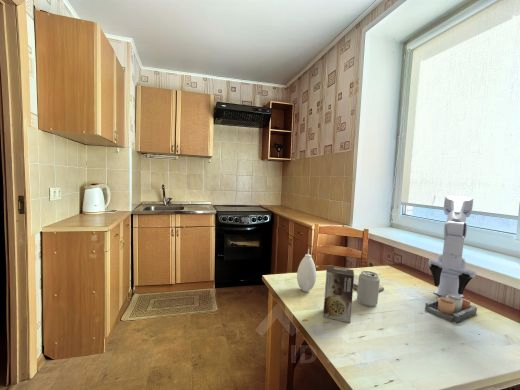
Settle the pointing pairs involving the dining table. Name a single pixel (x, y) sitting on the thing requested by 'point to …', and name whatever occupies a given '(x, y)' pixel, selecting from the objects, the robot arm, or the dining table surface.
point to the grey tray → (455, 318)
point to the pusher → (464, 303)
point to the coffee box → (338, 293)
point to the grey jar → (456, 302)
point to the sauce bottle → (306, 273)
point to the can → (368, 288)
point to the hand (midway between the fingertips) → (448, 289)
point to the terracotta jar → (446, 306)
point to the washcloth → (356, 280)
